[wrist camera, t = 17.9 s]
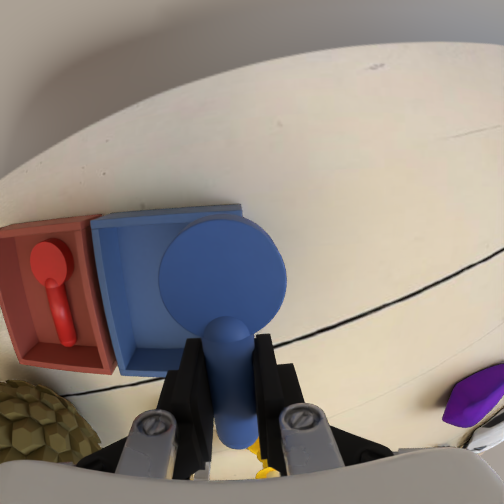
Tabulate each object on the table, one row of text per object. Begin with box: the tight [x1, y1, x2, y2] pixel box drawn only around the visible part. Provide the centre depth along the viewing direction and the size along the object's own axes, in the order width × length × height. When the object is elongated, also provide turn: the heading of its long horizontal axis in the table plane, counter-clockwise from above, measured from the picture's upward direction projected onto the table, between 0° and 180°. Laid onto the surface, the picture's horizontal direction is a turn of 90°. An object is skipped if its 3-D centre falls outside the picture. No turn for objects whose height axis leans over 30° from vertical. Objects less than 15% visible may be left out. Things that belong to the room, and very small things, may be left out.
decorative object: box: [0, 380, 101, 464], centre depth 18 cm, size 17×17×20 cm
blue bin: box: [90, 204, 242, 377], centre depth 23 cm, size 12×10×4 cm
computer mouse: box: [443, 408, 504, 454], centre depth 31 cm, size 10×18×4 cm, turn 113°
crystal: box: [442, 364, 504, 428], centre depth 28 cm, size 5×5×15 cm
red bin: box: [0, 214, 117, 375], centre depth 22 cm, size 12×10×4 cm
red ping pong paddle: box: [30, 238, 77, 347], centre depth 23 cm, size 10×4×2 cm, turn 2°
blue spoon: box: [158, 214, 287, 449], centre depth 11 cm, size 10×4×2 cm, turn 3°
